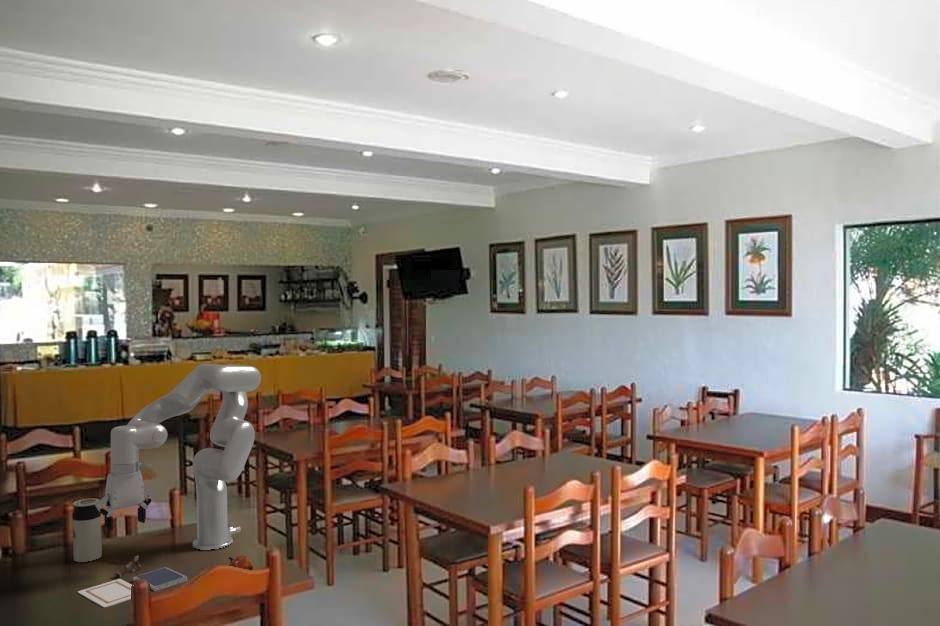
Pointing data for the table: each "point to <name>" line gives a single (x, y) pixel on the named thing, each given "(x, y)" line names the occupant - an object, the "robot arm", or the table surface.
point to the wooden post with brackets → (135, 559)
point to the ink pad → (162, 578)
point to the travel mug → (86, 530)
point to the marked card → (108, 593)
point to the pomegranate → (241, 562)
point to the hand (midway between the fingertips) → (125, 525)
